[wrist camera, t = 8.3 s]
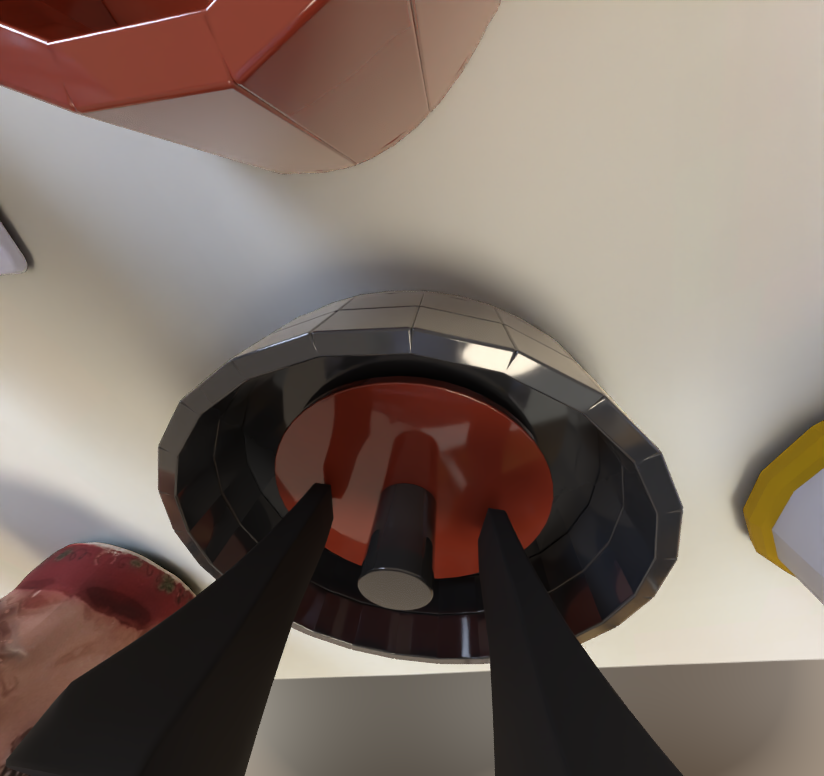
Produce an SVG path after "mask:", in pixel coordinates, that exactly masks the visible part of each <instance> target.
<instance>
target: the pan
mask: <svg viewBox="0 0 824 776" xmlns="http://www.w3.org/2000/svg"><path fill="white" fill-rule="evenodd" d="M386 376H411V377H424V378H429V379H435V380H440V381H445V382H448V383H452V384H455V385H458V386H461V387H465V388H467V389H469V390H472V391H474V392H476V393H478V394H481V395H483V396H485V397H487V398H489V399H490V400H492V401H493V402H495V403H497V404H498V405H500V406H502V407H503V408H505V409H506V410H507V411H508V412H510V413H511V414H512V415H513V416H515V417H516V418H517V419H518V420H519V421H520V422H521V423H522V424H523V425H524V426H525V427H526V428H527V429H528V430H529V431H530V432H531V434H532V435H533V437H534V438H535V440H536V441H537V443H538V444H539V446H540V447H541V450H542V452H543V454H544V456H545V459H546V461H547V463H548V466H549V468H550V472H551V476H552V480H553V503H552V509H551V512H550V515H549V518H548V520H547V523H546V525H545V526H544V528H543V529H542V531H541V533H540V534H539V535H538V537H537V538H536V539H535V540H534V541H533V542H532V544H530V545H529V546H528V547H527V548H526V549H525V550H524V551H525V552H526V554H527V556H528V558H529V560H530V562H531V564H532V566H533V567H534V569H535V571H536V573H537V575H538V577H539V578H540V580H541V582H542V584H543V585H544V587H545V589H546V591H547V592H548V594H549V596H550V597H551V599H552V601H553V602H554V604H555V606H556V607H557V609H558V610H559V612H560V614H561V615H562V617H563V618H564V620H565V621H566V623H567V624H568V626H569V628H570V629H571V630H572V632H573V633H574V635H575V636H576V638H577V639H578V641H579V642H580V644H581V643H584V642H586V641H588V640H590V639H592V638H594V637H596V636H598V635H601V634H603V633H605V632H607V631H609V630H611V629H613V628H615V627H616V626H619V625H620V624H621V623H622V622H624V621H625V620H626V619H627V618H629V617H630V616H631V615H632V614H634V613H635V612H636V611H637V610H639V609H640V608H641V607H642V606H644V605H645V604H646V603H647V602H648V601H650V600H651V599H652V597H654V596H655V595H656V593H657V591H658V590H659V588H660V587H661V585H662V583H663V582H664V580H665V579H666V577H667V575H668V574H669V572H670V571H671V569H672V567H673V566H674V564H675V563H676V561H677V557H678V551H679V542H680V532H681V523H682V514H683V506H682V503H681V501H680V498H679V495H678V493H677V490H676V488H675V485H674V483H673V480H672V477H671V475H670V472H669V470H668V467H667V465H666V462H665V460H664V457H663V454H662V452H661V451H660V450H659V448H658V447H657V446H656V445H655V444H654V443H653V442H652V441H651V440H650V439H649V438H648V437H647V435H646V434H645V433H644V432H643V431H642V430H641V429H640V428H639V427H638V426H637V425H636V424H635V423H634V422H633V420H632V419H631V418H630V417H629V416H628V415H627V414H626V413H625V412H624V411H623V410H622V409H621V408H620V407H619V406H618V404H617V403H616V402H615V401H614V400H613V399H612V398H611V397H610V396H609V395H608V394H607V393H606V392H605V391H604V389H603V388H602V387H601V386H600V385H599V384H598V383H597V382H596V381H595V380H594V379H593V378H592V377H591V376H590V375H589V374H588V373H587V372H586V371H585V370H584V369H583V368H582V367H581V366H580V365H579V364H578V363H577V361H576V360H575V359H574V358H573V357H572V356H571V355H570V354H569V353H568V352H567V351H566V350H565V349H564V348H563V347H562V346H561V345H560V344H559V343H558V342H557V341H556V340H554V339H553V338H552V337H550V336H548V335H547V334H545V333H544V332H542V331H541V330H539V329H537V328H536V327H534V326H533V325H531V324H530V323H528V322H526V321H525V320H523V319H522V318H520V317H517V316H515V315H513V314H511V313H508V312H506V311H504V310H502V309H499V308H497V307H495V306H493V305H490V304H487V303H483V302H480V301H476V300H473V299H469V298H466V297H462V296H458V295H451V294H444V293H438V292H431V291H385V292H377V293H370V294H362V295H358V296H354V297H351V298H347V299H344V300H340V301H336V302H333V303H330V304H328V305H326V306H323V307H321V308H319V309H317V310H315V311H312V312H310V313H307V314H305V315H302V316H299V317H298V318H295V319H294V320H292V321H291V322H289V323H287V324H286V325H284V326H283V327H281V328H279V329H278V330H276V331H274V332H273V333H271V334H270V335H269V336H267V337H265V338H263V339H262V340H260V341H259V342H257V343H255V344H254V345H252V346H250V347H249V348H247V349H246V350H244V351H242V352H241V353H239V354H238V355H236V356H234V357H233V358H231V359H230V360H228V361H227V362H226V363H225V364H223V365H222V366H221V367H220V368H218V369H217V370H216V371H215V372H214V373H212V374H211V375H210V376H209V377H207V378H206V379H205V380H204V381H203V382H201V383H200V384H199V385H198V386H196V387H195V388H194V389H193V390H192V391H190V392H189V393H188V394H187V395H185V396H184V397H183V398H182V400H180V402H179V404H178V406H177V408H176V410H175V412H174V414H173V416H172V418H171V420H170V422H169V425H168V427H167V429H166V431H165V433H164V435H163V437H162V439H161V441H160V443H159V447H158V490H159V494H160V496H161V499H162V501H163V504H164V506H165V509H166V512H167V514H168V517H169V519H170V522H171V524H172V527H173V529H174V531H175V533H176V534H177V535H178V537H179V538H180V539H181V541H182V542H183V543H184V545H185V546H186V547H187V549H188V550H189V551H190V553H191V554H192V555H193V557H194V558H195V559H196V561H197V562H198V563H199V564H200V566H202V567H203V568H204V569H205V570H206V571H207V572H208V573H209V574H211V575H212V576H213V577H214V578H215V579H216V580H217V579H218V578H219V577H221V576H222V575H223V574H224V573H225V572H227V571H228V570H229V569H230V568H231V567H232V566H234V565H235V564H236V563H237V562H238V561H239V560H240V559H241V558H243V557H244V556H245V555H246V554H247V553H248V552H249V551H250V550H251V549H252V548H253V547H254V546H255V545H256V544H257V543H259V542H260V541H261V540H262V539H263V538H264V537H265V536H266V535H267V534H268V533H269V532H270V531H271V530H272V529H273V528H274V527H275V526H276V525H277V524H278V523H279V522H280V521H281V520H282V519H283V518H284V517H285V515H286V514H287V513H288V510H287V509H286V507H285V505H284V503H283V501H282V499H281V497H280V495H279V491H278V488H277V485H276V479H275V472H274V469H275V456H276V452H277V448H278V444H279V442H280V440H281V438H282V436H283V434H284V432H285V431H286V429H287V428H288V426H289V425H290V424H291V422H292V421H293V420H294V418H295V417H296V416H297V415H298V414H299V413H300V412H301V411H302V410H303V409H304V408H305V407H306V406H307V405H308V404H309V403H311V402H312V401H314V400H315V399H317V398H318V397H319V396H321V395H322V394H325V393H327V392H329V391H331V390H333V389H335V388H337V387H339V386H342V385H346V384H349V383H352V382H355V381H358V380H364V379H370V378H375V377H386ZM360 570H361V566H360V565H357V564H355V563H353V562H351V561H348V560H346V559H344V558H342V557H340V556H338V555H337V554H335V553H333V552H331V551H330V550H328V549H327V548H325V547H324V550H323V552H322V554H321V557H320V559H319V561H318V564H317V566H316V568H315V571H314V573H313V575H312V578H311V580H310V582H309V585H308V587H307V589H306V592H305V594H304V596H303V599H302V601H301V603H300V606H299V608H298V610H297V613H296V616H295V618H294V621H293V623H292V626H291V627H292V628H294V629H296V630H298V631H300V632H303V633H305V634H307V635H310V636H312V637H315V638H318V639H321V640H324V641H327V642H330V643H333V644H336V645H339V646H342V647H345V648H348V649H351V648H352V650H356V651H361V652H365V653H370V654H374V655H379V656H384V657H388V658H393V659H394V658H395V659H400V660H409V661H418V662H427V663H436V664H438V663H440V664H484V663H485V664H488V663H490V653H489V643H488V635H487V628H486V620H485V613H484V605H483V598H482V591H481V583H480V575H479V572H478V573H475V574H471V575H465V576H460V577H452V578H437V579H434V595H433V598H432V600H431V601H430V603H429V604H427V605H426V606H424V607H421V608H418V609H414V610H395V609H390V608H386V607H382V606H379V605H377V604H375V603H373V602H371V601H369V600H368V599H367V598H365V597H364V596H363V595H362V594H361V592H360V591H359V588H358V578H359V574H360Z"/></svg>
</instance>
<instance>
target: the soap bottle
mask: <svg viewBox="0 0 824 776" xmlns="http://www.w3.org/2000/svg"><path fill="white" fill-rule="evenodd" d="M743 513H744V517H745V520H746V524H747V528H748V532H749V535H750V539H751V541H752V543H753V545H754V548H755V550H756V552H758V553H759V554H761V555H762V556H764V557H765V558H767V559H768V560H769V561H771V562H772V563H774V564H775V565H777V566H778V567H780V568H781V569H783V570H784V571H786V572H787V573H789V574H791V575H793V576H795V577H796V578H798V579H799V580H800V581H801V582H802V583H803V584H804V585H805V586H806V587H807V588H808V589H809V590H810V591H811V592H812V593H813V594H814V595H815V596H816V597H817V599H818V600H819V601H820V602H821V603H822V604H823V605H824V420H823V421H821V422H819V423H817V424H816V425H814V426H812V427H811V428H809V429H808V430H807V431H806V432H805V433H804V434H803V435H802V436H800V437H799V438H798V439H797V440H796V441H795V442H794V443H793V444H791V445H790V446H789V447H788V448H787V449H786V450H785V451H784V452H782V453H781V454H780V455H779V456H778V457H777V458H776V459H775V460H774V461H772V462H771V463H770V464H769V465H768V466H767V467H766V468H765V469H763V470H762V471H761V473H760V475H759V477H758V479H757V481H756V483H755V485H754V487H753V489H752V492H751V494H750V496H749V498H748V500H747V502H746V504H745V506H744V508H743Z"/></svg>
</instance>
